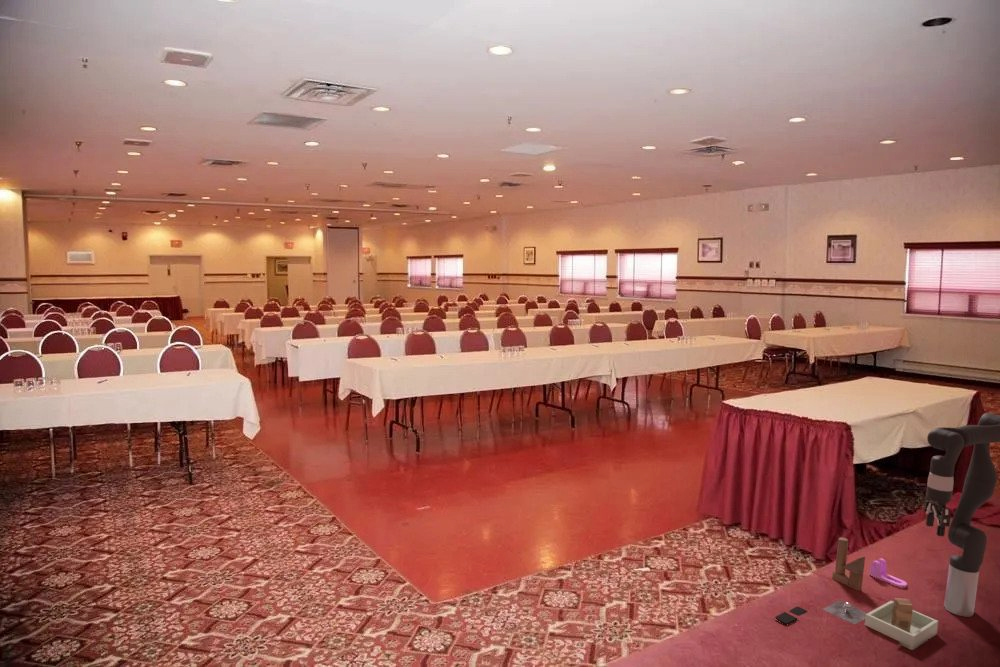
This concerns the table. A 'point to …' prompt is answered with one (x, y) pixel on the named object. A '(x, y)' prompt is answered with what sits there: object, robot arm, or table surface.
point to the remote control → (787, 618)
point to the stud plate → (846, 612)
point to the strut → (902, 614)
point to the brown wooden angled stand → (848, 567)
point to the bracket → (884, 573)
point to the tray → (918, 634)
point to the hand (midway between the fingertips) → (934, 530)
